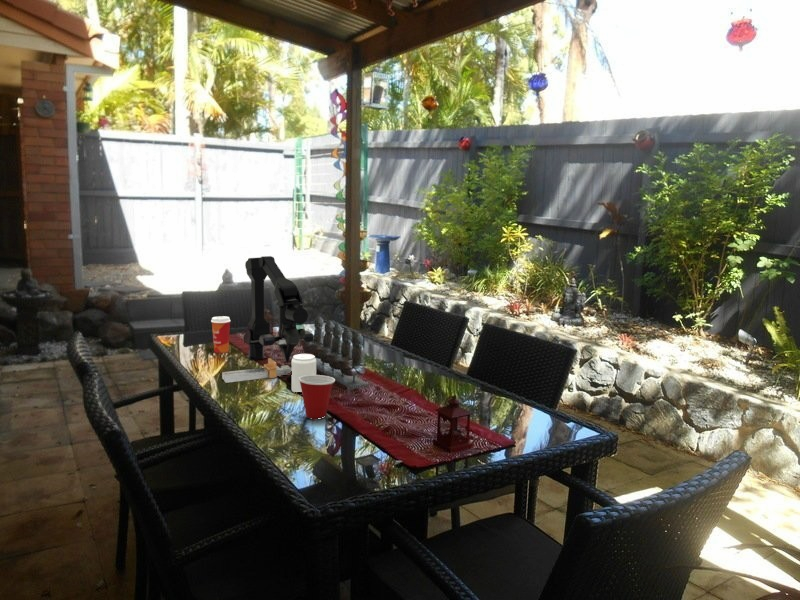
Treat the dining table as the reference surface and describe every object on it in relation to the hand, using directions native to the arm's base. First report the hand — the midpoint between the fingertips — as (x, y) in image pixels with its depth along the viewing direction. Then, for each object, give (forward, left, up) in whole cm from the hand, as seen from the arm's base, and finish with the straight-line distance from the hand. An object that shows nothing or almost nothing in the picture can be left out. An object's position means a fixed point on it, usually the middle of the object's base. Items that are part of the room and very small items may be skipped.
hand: (286, 361), depth 236 cm
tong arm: (-2, -13, -4) cm, 13 cm away
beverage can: (+21, -2, -5) cm, 22 cm away
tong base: (0, -12, -5) cm, 12 cm away
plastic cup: (+45, -7, -5) cm, 46 cm away
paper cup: (-41, -14, -5) cm, 43 cm away
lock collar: (0, -6, -5) cm, 8 cm away
